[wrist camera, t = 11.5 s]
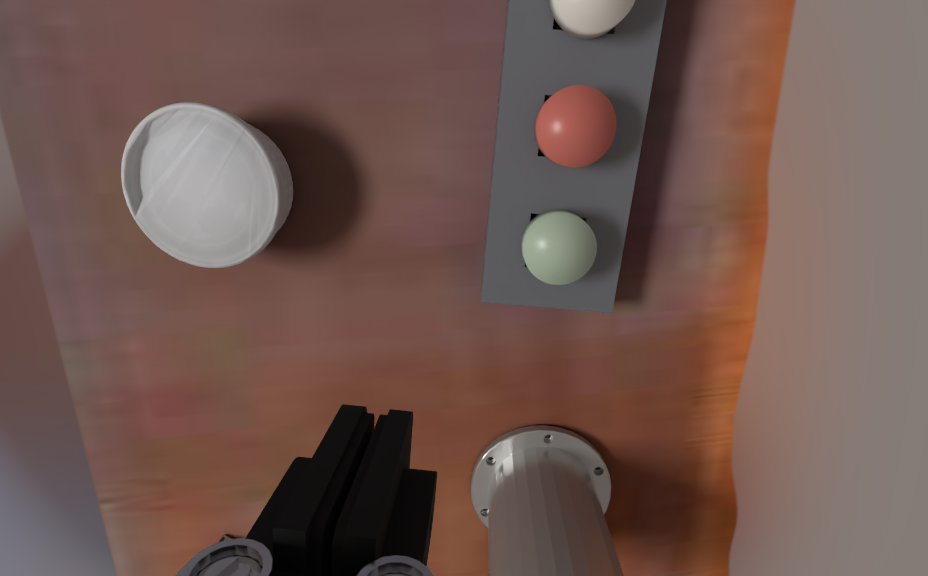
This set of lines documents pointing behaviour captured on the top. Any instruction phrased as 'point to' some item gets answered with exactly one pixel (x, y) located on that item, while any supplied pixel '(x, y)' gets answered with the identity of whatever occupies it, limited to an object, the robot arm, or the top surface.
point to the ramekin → (205, 184)
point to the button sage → (558, 247)
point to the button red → (575, 126)
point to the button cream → (589, 15)
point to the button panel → (555, 186)
